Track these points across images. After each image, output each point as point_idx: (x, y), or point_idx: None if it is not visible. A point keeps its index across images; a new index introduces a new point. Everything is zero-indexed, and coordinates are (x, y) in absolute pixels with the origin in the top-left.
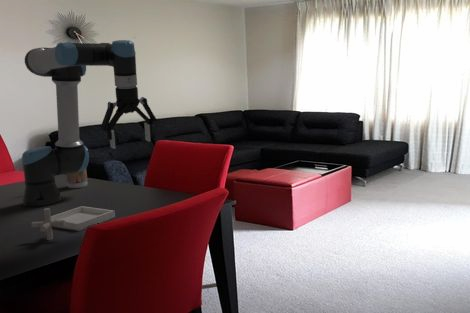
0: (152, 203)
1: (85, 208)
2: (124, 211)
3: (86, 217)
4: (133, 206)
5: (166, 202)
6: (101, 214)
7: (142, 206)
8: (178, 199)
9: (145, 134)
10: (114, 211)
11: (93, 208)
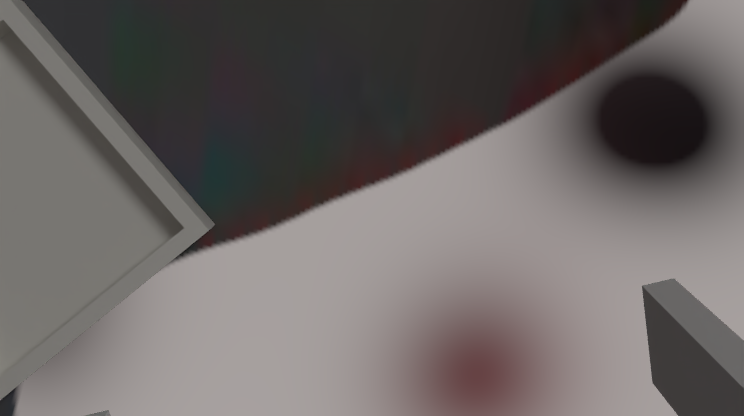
0: (478, 22)
1: (30, 47)
2: (283, 123)
3: (43, 180)
4: (353, 31)
5: (563, 46)
6: (124, 279)
7: (406, 63)
8: (651, 12)
9: (688, 345)
10: (208, 230)
11: (80, 104)
